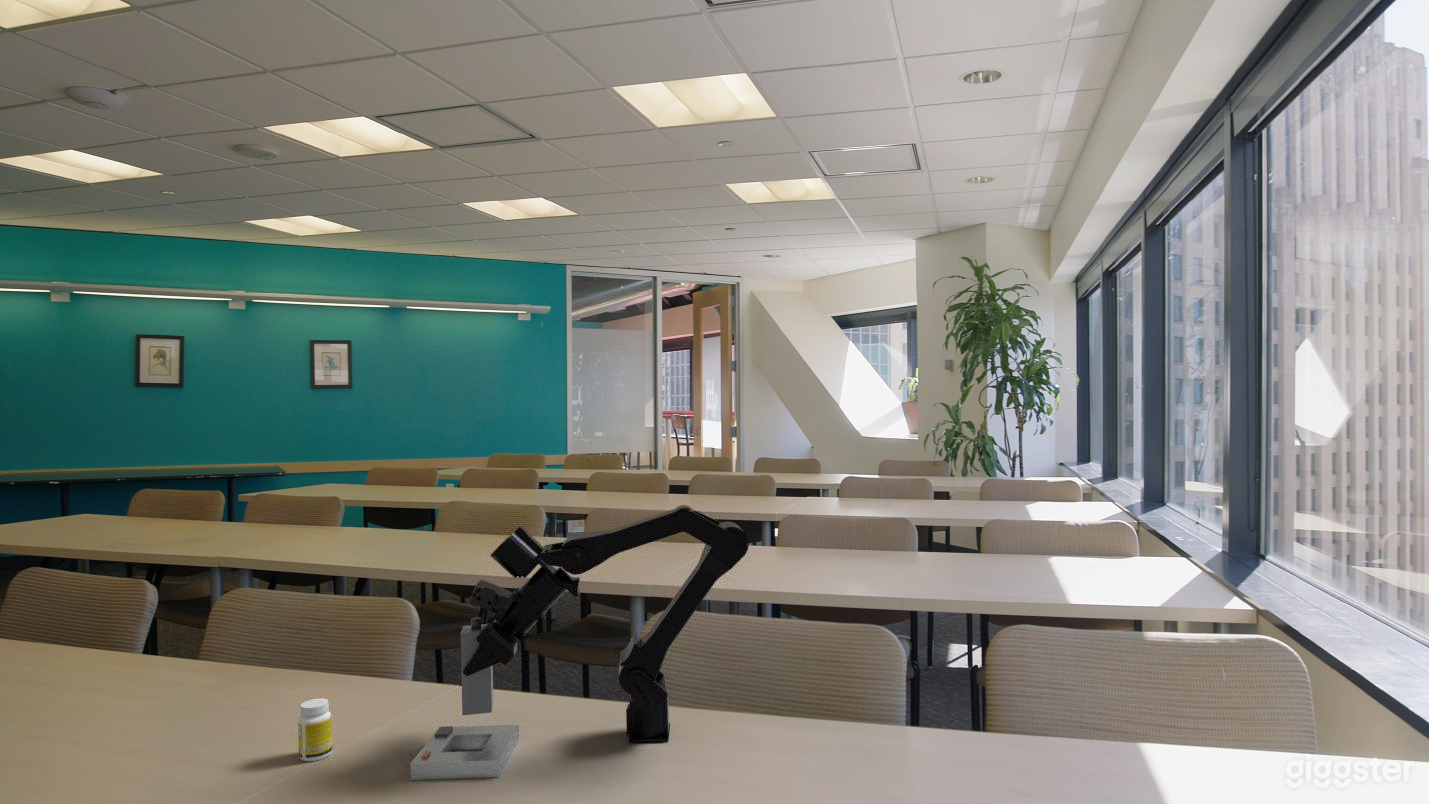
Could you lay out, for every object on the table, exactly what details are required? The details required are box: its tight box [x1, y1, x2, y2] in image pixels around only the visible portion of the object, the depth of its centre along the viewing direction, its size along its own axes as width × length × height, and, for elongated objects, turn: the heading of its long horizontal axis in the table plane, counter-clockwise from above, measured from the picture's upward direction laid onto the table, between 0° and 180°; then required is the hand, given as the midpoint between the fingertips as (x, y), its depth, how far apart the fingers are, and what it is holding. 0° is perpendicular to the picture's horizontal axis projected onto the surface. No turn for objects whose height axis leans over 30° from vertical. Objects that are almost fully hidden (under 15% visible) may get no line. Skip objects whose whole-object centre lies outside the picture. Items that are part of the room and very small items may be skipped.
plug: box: [460, 616, 494, 716], centre depth 129 cm, size 4×4×15 cm
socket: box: [410, 724, 520, 781], centre depth 124 cm, size 13×13×3 cm
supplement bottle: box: [297, 698, 333, 762], centre depth 126 cm, size 5×5×8 cm
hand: (468, 668), depth 128 cm, fingers closed on plug, 5 cm apart
